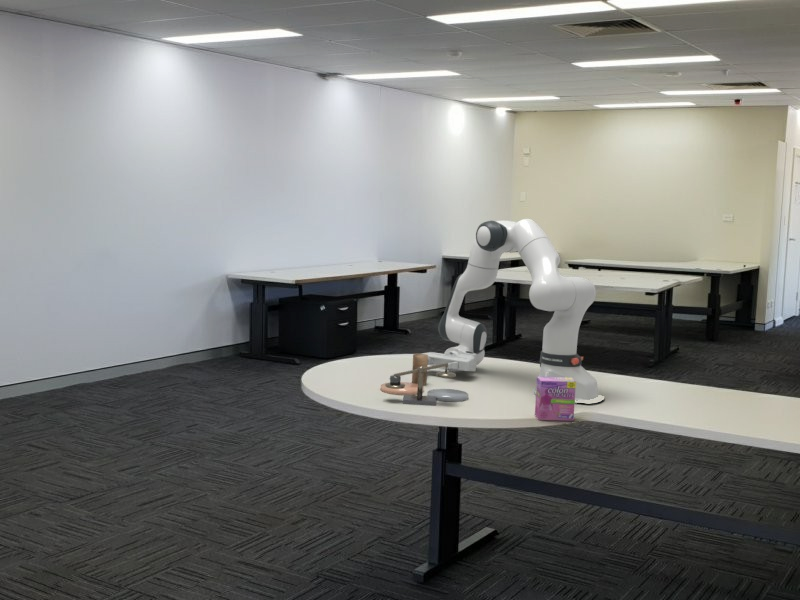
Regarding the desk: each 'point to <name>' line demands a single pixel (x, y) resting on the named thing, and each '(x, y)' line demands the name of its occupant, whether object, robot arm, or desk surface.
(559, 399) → the box
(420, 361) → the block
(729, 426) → the desk surface
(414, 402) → the balance
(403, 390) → the dish
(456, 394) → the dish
